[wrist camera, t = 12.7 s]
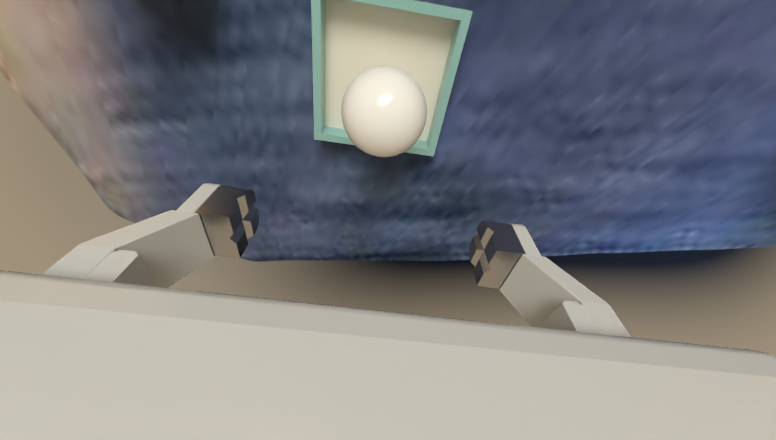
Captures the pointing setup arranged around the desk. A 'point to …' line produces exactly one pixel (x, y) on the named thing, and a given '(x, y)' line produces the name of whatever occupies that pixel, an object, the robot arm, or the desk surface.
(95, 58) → the desk surface
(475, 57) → the desk surface
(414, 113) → the lightbulb
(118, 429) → the robot arm
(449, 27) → the dish
